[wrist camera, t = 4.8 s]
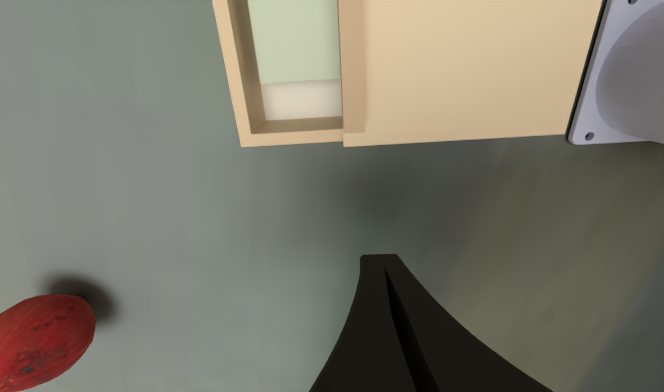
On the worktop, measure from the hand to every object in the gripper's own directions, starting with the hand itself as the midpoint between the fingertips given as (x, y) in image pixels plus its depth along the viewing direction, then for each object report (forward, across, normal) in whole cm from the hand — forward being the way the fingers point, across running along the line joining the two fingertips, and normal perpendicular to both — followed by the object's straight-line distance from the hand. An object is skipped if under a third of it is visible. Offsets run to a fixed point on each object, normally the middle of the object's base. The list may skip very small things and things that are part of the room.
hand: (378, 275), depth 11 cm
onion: (+10, +23, +10) cm, 27 cm away
